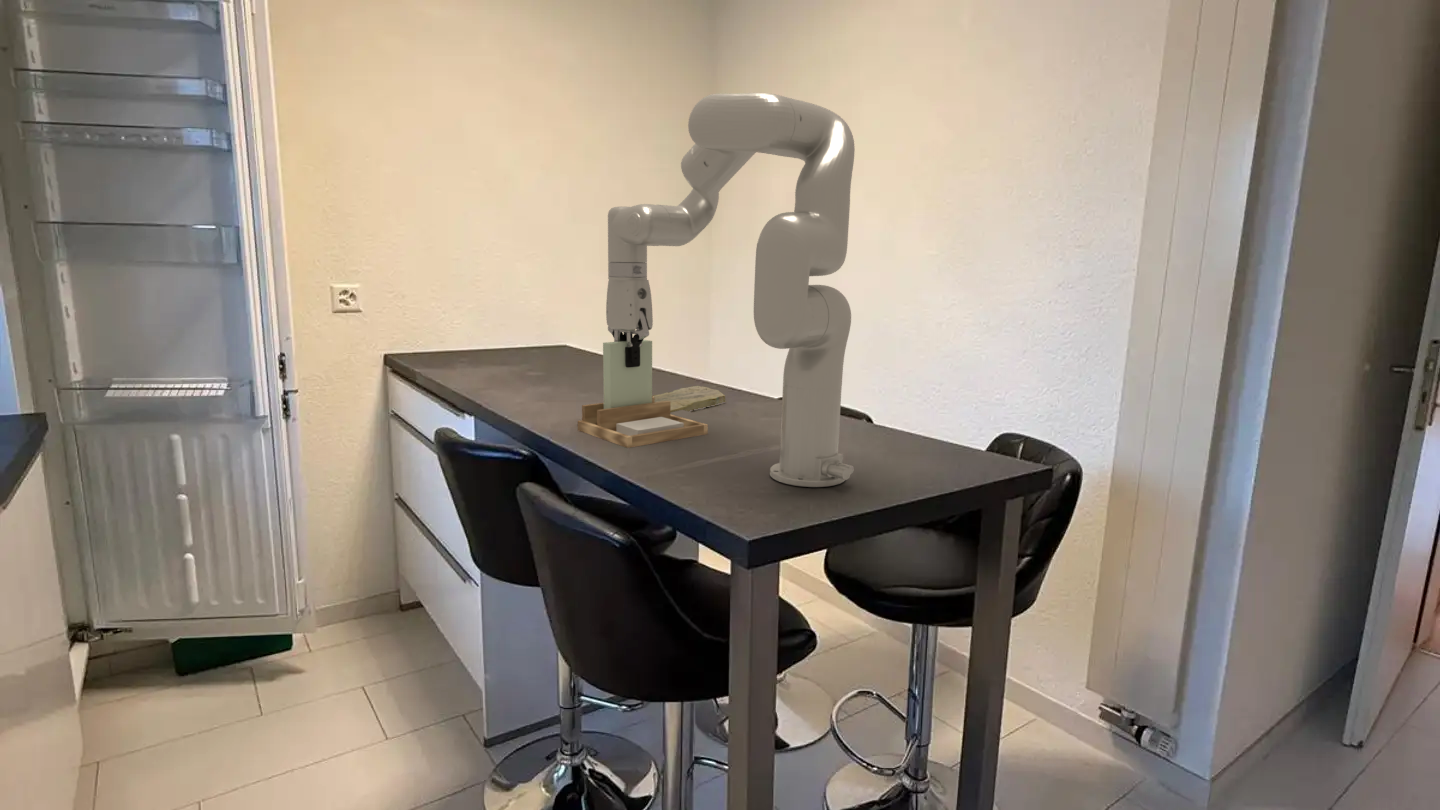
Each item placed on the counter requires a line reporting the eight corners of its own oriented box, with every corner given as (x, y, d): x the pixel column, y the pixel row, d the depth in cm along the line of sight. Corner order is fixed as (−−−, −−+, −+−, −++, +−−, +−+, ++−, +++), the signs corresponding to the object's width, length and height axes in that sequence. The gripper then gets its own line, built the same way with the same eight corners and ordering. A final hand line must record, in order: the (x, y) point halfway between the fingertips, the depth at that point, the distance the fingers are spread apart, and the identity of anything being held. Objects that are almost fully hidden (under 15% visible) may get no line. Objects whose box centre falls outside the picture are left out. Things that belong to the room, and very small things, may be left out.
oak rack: (707, 439, 156) (708, 409, 155) (627, 453, 144) (627, 421, 143) (655, 423, 169) (655, 396, 168) (577, 435, 156) (577, 405, 155)
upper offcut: (683, 432, 155) (683, 423, 155) (638, 440, 148) (638, 430, 147) (661, 426, 160) (661, 416, 160) (616, 433, 153) (616, 423, 152)
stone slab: (737, 390, 197) (664, 403, 172) (736, 406, 197) (663, 422, 172) (696, 383, 203) (620, 395, 178) (695, 399, 204) (619, 413, 179)
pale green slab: (652, 418, 162) (652, 340, 159) (610, 425, 155) (610, 343, 152) (644, 416, 164) (644, 339, 161) (603, 422, 157) (603, 342, 154)
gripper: (668, 273, 150) (667, 369, 154) (620, 271, 162) (620, 360, 166) (635, 273, 146) (636, 372, 149) (588, 271, 158) (590, 362, 161)
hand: (628, 365), depth 157 cm, fingers closed on pale green slab, 2 cm apart
